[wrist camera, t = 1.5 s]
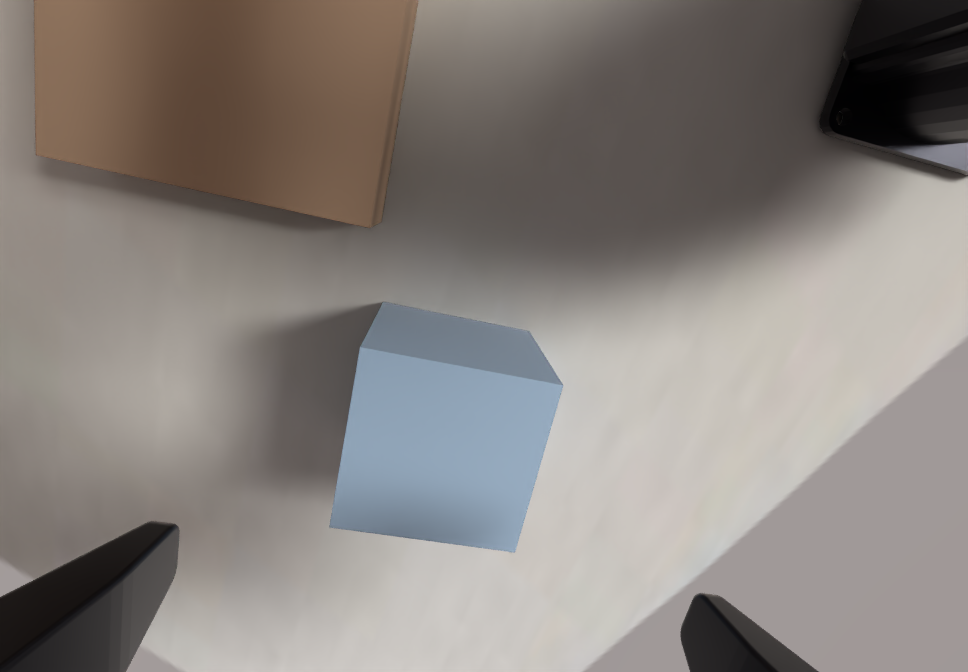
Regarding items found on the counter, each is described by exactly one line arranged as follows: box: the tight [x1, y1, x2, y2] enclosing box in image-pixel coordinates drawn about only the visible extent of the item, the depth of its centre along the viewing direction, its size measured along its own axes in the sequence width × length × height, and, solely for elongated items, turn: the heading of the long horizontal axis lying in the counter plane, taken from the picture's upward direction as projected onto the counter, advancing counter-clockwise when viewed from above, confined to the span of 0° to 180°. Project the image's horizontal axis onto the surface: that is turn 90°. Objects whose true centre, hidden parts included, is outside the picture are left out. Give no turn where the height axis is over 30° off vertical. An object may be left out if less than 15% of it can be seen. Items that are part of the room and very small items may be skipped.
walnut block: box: [34, 0, 418, 228], centre depth 13 cm, size 8×8×3 cm
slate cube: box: [329, 302, 563, 552], centre depth 15 cm, size 5×5×5 cm
